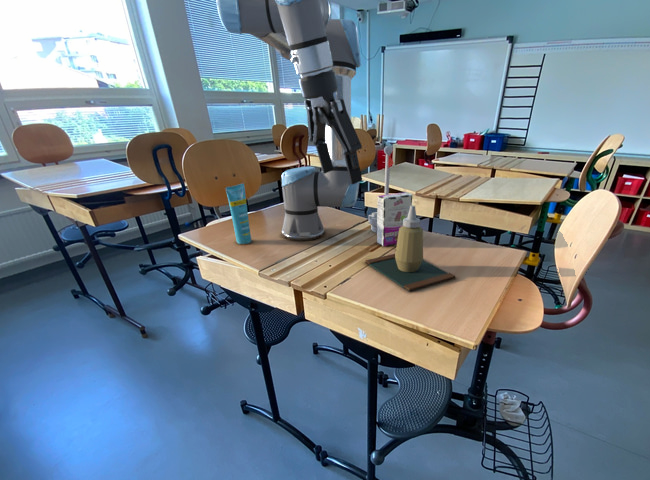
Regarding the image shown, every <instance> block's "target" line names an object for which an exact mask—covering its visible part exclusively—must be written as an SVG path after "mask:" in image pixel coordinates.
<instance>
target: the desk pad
mask: <svg viewBox="0 0 650 480" xmlns="http://www.w3.org/2000/svg"><path fill="white" fill-rule="evenodd" d="M364 264H366V265H368V267H370V268H372V269H374V270H375V271H377V272H378V273H380V274H381V275H382V276H384V277H386V278H387V279H389V280H390V281H392V282H393V283H395V284H396V285H398V286H399V287H401V288H402V289H403V290H405V291H407V292H408V293H411V292H414V291H418V290H421V289H425V288H429V287H431V286H435V285H439V284H443V283H446V282H448V281H451V280H455V279H456V275H455V274H453V273H451V272H448V271H446V270H443V269H441V268H440V267H438V266H436V265H434V264H432V263H430V262H428V261H426V260H425V259H423V260H422V262H421V264H420V267H419V269H418V270H417V271H415V272H404V271H401V270H399V269H398V266H397V263H396V259H395V253H391V254H387V255H383V256H378V257H375V258H369V259H365V260H364Z"/></svg>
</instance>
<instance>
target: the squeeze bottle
mask: <svg viewBox="0 0 650 480" xmlns="http://www.w3.org/2000/svg"><path fill="white" fill-rule="evenodd" d="M394 254H395V259H396V263H397V266H398V269H399V270H401V271H404V272H415V271H417V270H418V269H419V267H420V264H421V262H422V260H424V229H423V227H421V219H420V218H418V217H417V209H416V205H412V206H410V210H409V213H408V217H407V218H404V219H403V226H402V227H400V228H399V234H398V240H397V244H396V248H395V253H394Z"/></svg>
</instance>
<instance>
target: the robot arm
mask: <svg viewBox="0 0 650 480" xmlns="http://www.w3.org/2000/svg"><path fill="white" fill-rule="evenodd" d="M215 1H216V8H217V13H218V17H219V20H220V22H221V25H222V26H223V28H224V29H225V30H226V31H227V32H228V33H229V34H230V33H231V34H239V35H242V34H248V35H250V36H253V37H254V38H257V39H258V40H260V41H262V42H263V43H265V44H267V45H269V46H271V47H273V48H274V50H275V51H276V53H277V54H278V55H279V56H280V57H282V58H283V59H286V60H287V61H289V62H291V63H292V64H294V69H295V72H296V74H297V75H298V76H300V77H299V78H298V84H299V87H300V90H301V95H302V98H304V99H305V100H304V101H303V102H304V106H305V109H306V119H307V120H306V121H307V128H308V140H309V142H310V143H313V145H314V146H315V148H316V152H317V157H318V159H319V163H320V166H321V171H317V169H316V167H315V166H301V167H295V168H290V169H286V170H285V171H284V172H282V173H281V187H282V198H283V205H284V219H283V223H282V228H281V229H282V230H281V233H282V237H283V238H284V239H287V240H290V241H300V242H302V241H312V240H316V239H320V238H321V237H323V236H324V235H325V229H324V226H323V223H322V220H321V217H320V215H319V210H318V207H319V208H320V207H321V208H341V209H343V208H352V207H354V206H355V205H356V203H357V200H358V195H359V189H360V182H362V181H363V176H362V172H361V167H360V161H359V157H358V151H359V150H361V149H362V148H363V146H362V143H361V141H360V138H359V136H358V134H357V132H356V129H355V127H354V125H353V122H352V80H353V79H354V77H355V76H356V74H357V69H359V68H360V67H361V66H362V64H361V63H362V62H361V61H362V60H361V51H360V49H361V48H360V42H359V41H360V39H359V34H358V27H357V23H356V22H355V21H354V20H352V19H343V18H330V17H331V7H330V3H329V0H215Z"/></svg>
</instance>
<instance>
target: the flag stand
mask: <svg viewBox="0 0 650 480" xmlns="http://www.w3.org/2000/svg"><path fill="white" fill-rule="evenodd" d="M383 152H384V154H385V166H384V167H385V170H384V195H388V194H390V168H391V166H393V165H394V161H393V159H392V157H391V155H392V153H393V147H392V146H391V145H386V146H384V148H383ZM368 223H369V224H370V230H371V231H372V232H374V233H375V234H377V211H375V212H374V211H373V212H371V214H368Z"/></svg>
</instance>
